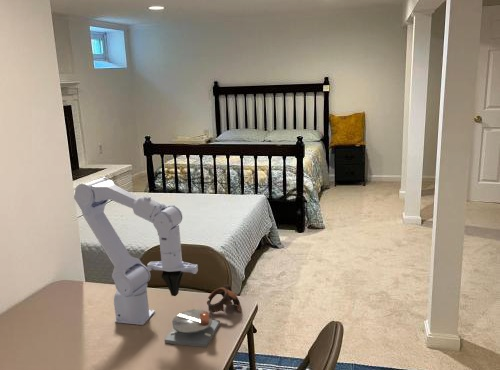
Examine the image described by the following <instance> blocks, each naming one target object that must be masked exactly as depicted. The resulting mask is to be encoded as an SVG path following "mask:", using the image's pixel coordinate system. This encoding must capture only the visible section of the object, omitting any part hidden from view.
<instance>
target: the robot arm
mask: <svg viewBox="0 0 500 370" xmlns="http://www.w3.org/2000/svg"><path fill="white" fill-rule="evenodd" d="M73 198H74V201H75V202H76V203H77V205H78V207H79V209H80V210H81V213H82V216H83V218H84V220H85V221H86V223H87V224H88V226H89V228H90V229H91V231H92V232H93V234H94V236H95V237H96V239H97V241H98V242H99V244H100V245H101V247H102V249H103V251H104V252H105V254H106V255H107V257H108V258H109V260H110V262H111V263H112V265H113V267H114V268H113V271H112V274H111V278H112V279H113V280H112V281H114V285H115V289H116V292H115V294H114V298H113V305H114V313H115V320H114V323H117V324H118V323H119V324H130V325H131V324H132V325H138V326H139V325H141V326H143V325H145V324H146V322H148V321H149V319H150V318H151V317H152V316H153V315H154V314H155V313H156V311H155V309H150V307H149V298H148V290H147V288H148V282H149V281H150V280H151V272H150V271H162V273H161V279H163V281H164V282H165V284H166V285H167V287H168V290H169V293H170V296H171V297H176V296H178V294H179V293H180V292H179V289H180V285H181V280H182V277H183V275H184V273H191V274H192V275H194V274H195V275H196V274H198V271H199V265H198V264H195V263H190V262H186V261H183V258H182V257H183V256H182V255H183V254H182V245H181V232H180V224H181V222H182V221H183V213H182V211H181V210H180V208H178V207H177V206H176V205H174V204H171V205H166V204H164V203H160V202H158V201H155V200H153V199H152V197H151V196H149V195H146V196H145V195H143V196H140V197H138V196H136V195H134V194H133V193H131V192H129V191H127V190H125V189H124V188H123V187H120V186H118V185H116V184H115V182H114V181H113V180H111V179H109V178H107V177H106V176H100V177H98V178H96V179H94V180H89V181H87V182H84V183H79V184H78V185H77V186H76V187H75V190H74V196H73ZM109 201H113V202H114V203H118V204H119V205H122V206H124V207H128V208H130V209H132V212H133V214H134V215H135V216H137V217H139V218H142V219H143V220H146V221H148V222H150V223H152V224H153V227H154V228H155V229H156V231H157V236H158V239H159V240H158V241H159V248H160V249H159V251H160V259H161V260H160V261H149V262H148V263H147V265H145V264H143V262H142V261H141V259H139V258H137V257H134V256H132V255H131V254H130V253H129V251H128V249H127V247H126V246H125V244H124V243H123V241H122V239H121V238H120V236H119V235H118V233H117V231H116V229H115V228H114V227H113V225H112V224H111V222H110V220H109V218H108V217H107V215H106V214H105V212H104V211H105V207H106V205H107V203H108V202H109Z"/></svg>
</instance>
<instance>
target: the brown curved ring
mask: <svg viewBox="0 0 500 370" xmlns="http://www.w3.org/2000/svg"><path fill="white" fill-rule="evenodd" d="M219 293H220V295H221V296H222V298H221V299H220V300H219V301H218V302H215V303H212V301H213V299H214V298H215V297H216V296H217V295H218V294H219ZM207 299H209V300H207V301H206V304H207V306H208V312H209V313H210V312H211V313H218V312H223V313H225V309H224V308H225V307H224V306H232V305H234V306H237V307H236V309H237V310H238V313H240V314H241V312H242V305H241V302H240V300H239V298H238V296H237V294H235V293H234V292H233V291H232V287H231V285H229V284H224V285H223V286H222V287H218V288H215V289H214V290H213V291H212V292H211V293H210V294H209V296H208V297H207Z"/></svg>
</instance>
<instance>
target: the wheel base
mask: <svg viewBox="0 0 500 370" xmlns="http://www.w3.org/2000/svg"><path fill="white" fill-rule="evenodd" d="M220 325H221V320H219V319H218V320H217V319H212V324H211V325H210V327H209V328H207V329H206V330H204V331H201V332H198V333H193V334H184V333H180V332H177V331H176V330H175V329H174V328H173V327H172V329H171V330H170V331H169V333H168V334H167V336H166V337H165V339H164V344H172V345H178V346H179V345H180V346H181V345H182V346H187V347H189V346H190V347H198V348H207V347H208V346H209V344H210V342H211V340H212V338H213V337H214V336H215V333H216V332H217V330H218V328H219V326H220Z"/></svg>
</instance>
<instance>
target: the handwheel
mask: <svg viewBox="0 0 500 370" xmlns="http://www.w3.org/2000/svg"><path fill="white" fill-rule="evenodd" d="M212 320H213V316H212V314H211V313H210V312H209V311H206V310H204V309H188V310H185V311H182V312H180V313H178V314H176V315H175V316H174V317H173V319H172V329H173V328H174V329H175V330H176V331H177V332H180V333H184V334H193V333H198V332H201V331H204V330H206V329H207V328H209V327H210V325H211V324H212Z"/></svg>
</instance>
